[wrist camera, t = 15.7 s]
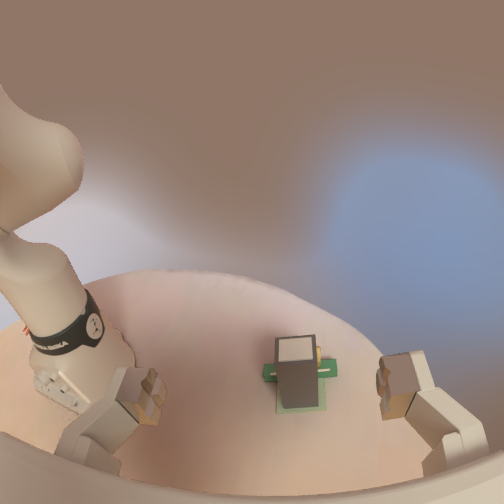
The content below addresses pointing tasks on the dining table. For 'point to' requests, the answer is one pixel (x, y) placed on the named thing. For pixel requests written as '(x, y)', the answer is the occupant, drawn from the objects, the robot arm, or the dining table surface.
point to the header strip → (324, 368)
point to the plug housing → (297, 371)
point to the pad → (309, 409)
